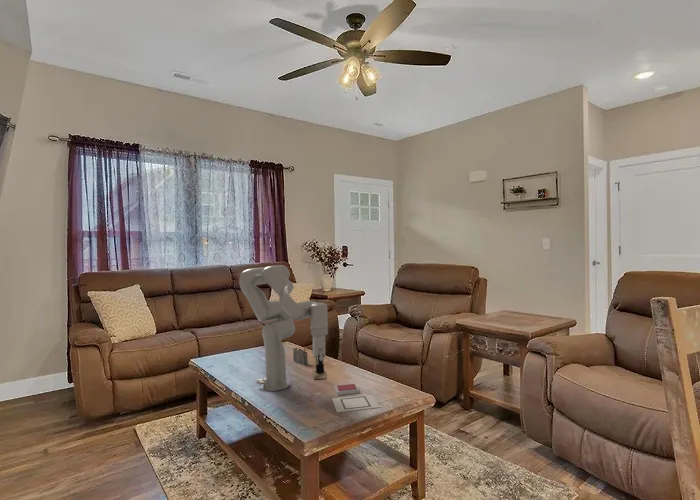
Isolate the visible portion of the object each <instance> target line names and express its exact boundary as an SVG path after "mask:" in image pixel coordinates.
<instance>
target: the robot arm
mask: <svg viewBox="0 0 700 500" xmlns="http://www.w3.org/2000/svg"><path fill="white" fill-rule="evenodd" d="M290 275H291V273H290V270H289V268H288V267H287V266H285V265H283V264H277V265H276V264H275V265H269V266H264V267H263V266H262V267H253V268H248V269H245V270H243V271H242V272H241V274H240V275H239V281H238V283H239V284H238V285H239V287H240V291H241V292H242V293H243V295H244V296H245V298H246V299H247V301H248V303H249V305H250V307H251V309H252V311H253V313H254V315H255V316H256V318H257V320H258V321H259V322H260V323H266V324H265V325H263V327H262V331H261V335H262V339H263V345H264V355H265V361H264V363H265V377H264V378H262V379H261V378H260V379H256V384H257V385H262V388H263V390H266V391H268V392H269V391H270V392H279V391H282V390H285V389H287V388H289V387H290V381H288V380H287V372H286V371H287V369H286V368H287V367H286V350H285V349H286V348H285V346H284V344H283V342H282V340H285V339H287V338H290V337H292V336H293V335H294V334H295V332H296V325H295V323H294V321H300V320H304V319H308V318H310V335H311V336H312V356H313V358H314V359H315V358H317V364H316V360H315V370H316V369H317V373H324V369H325V366H324V365H325V364H323V357H324V358H325V357H326V336H327V335H328V333H329V332H328V329H329V328H328V326H329V325H328V319H329V318H328V305H327V304H326V303H325V302H316V301H313V300H306V301H305V300H304V301H300V302H296V301H295V300H294V299H293V298H292V296H291V293H292V292H293V289H294V283H293V282H292V281H291V280H290V279H289V278H290ZM257 285H258V286H259V285H268V286H269V287H270V288H271V289H272V290H273V291H274V292H275V294H277V295H278V297H279V298H278V299H279V300H276V299H275V300H269V299H268V297H267V296H266V294H265V292H264V291H263V290H262V289H261V288H260V287H258V286H257ZM267 322H268V323H267ZM318 356H319V357H318ZM318 359H319V360H318Z"/></svg>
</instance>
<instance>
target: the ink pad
mask: <svg viewBox="0 0 700 500" xmlns="http://www.w3.org/2000/svg"><path fill="white" fill-rule="evenodd" d="M334 391H335V393H336V396H343V395H344V396H345V395H351V394H352V395H353V394H359V393H360V389H359V388H358V385H357V384H356V383H348V384H339V385H334Z"/></svg>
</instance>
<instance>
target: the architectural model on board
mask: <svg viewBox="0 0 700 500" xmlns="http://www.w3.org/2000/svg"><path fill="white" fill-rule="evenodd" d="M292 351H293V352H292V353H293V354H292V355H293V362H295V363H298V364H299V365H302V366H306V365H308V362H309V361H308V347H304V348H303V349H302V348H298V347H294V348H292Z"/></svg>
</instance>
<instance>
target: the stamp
mask: <svg viewBox="0 0 700 500" xmlns="http://www.w3.org/2000/svg"><path fill="white" fill-rule="evenodd" d="M318 357H319V356H318ZM324 358H325V357H323V364H324V363H325V362H324ZM314 359H315V361H316V364H317V358H314ZM318 360H319V359H318ZM324 365H325V364H324ZM311 373H312V374H311V375H312V378H313V381H324V380H325V381H326V380H328V372H327V369H325V368H324V373H317V369H316V368H315V370H314V369H313V370H312V371H311Z"/></svg>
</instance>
